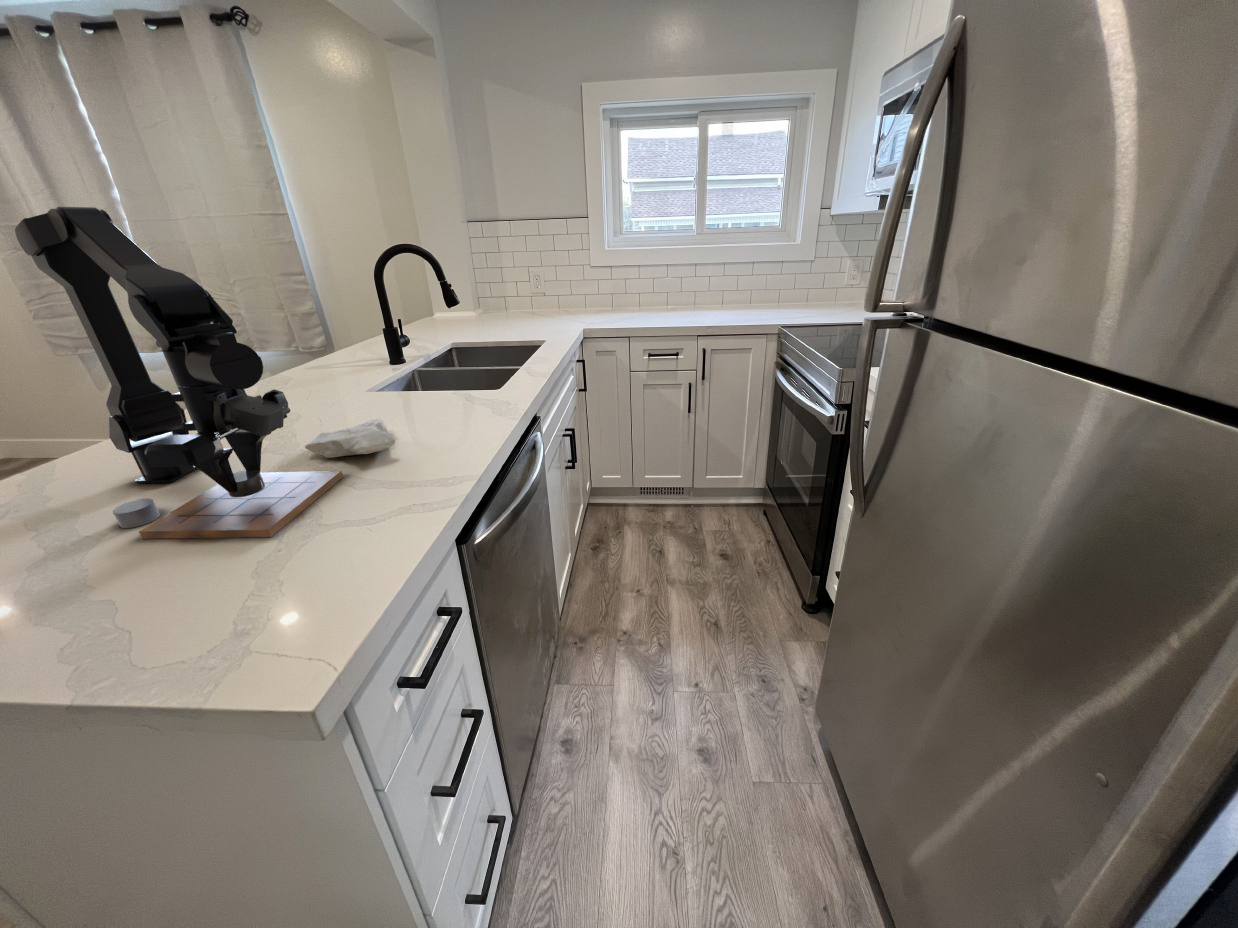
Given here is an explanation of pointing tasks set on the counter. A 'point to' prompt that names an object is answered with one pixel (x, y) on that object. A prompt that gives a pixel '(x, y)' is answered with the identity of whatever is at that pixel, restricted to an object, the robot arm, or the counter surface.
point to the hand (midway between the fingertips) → (245, 484)
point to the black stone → (247, 483)
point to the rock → (353, 440)
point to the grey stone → (136, 513)
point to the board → (245, 508)
